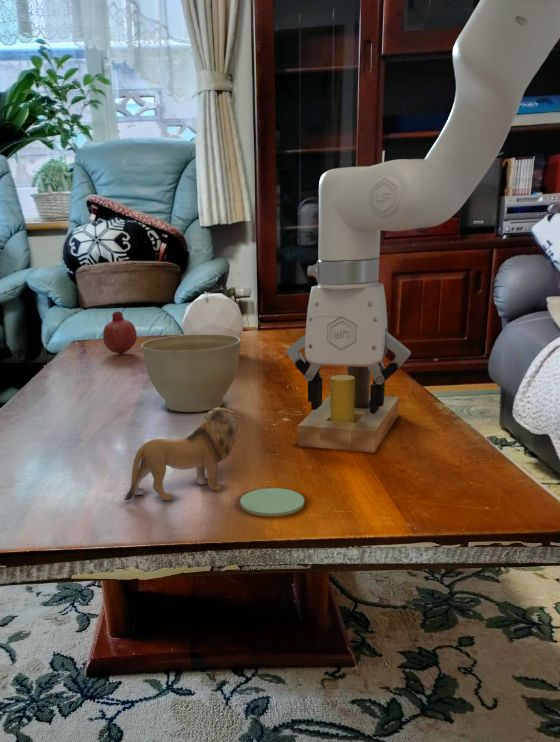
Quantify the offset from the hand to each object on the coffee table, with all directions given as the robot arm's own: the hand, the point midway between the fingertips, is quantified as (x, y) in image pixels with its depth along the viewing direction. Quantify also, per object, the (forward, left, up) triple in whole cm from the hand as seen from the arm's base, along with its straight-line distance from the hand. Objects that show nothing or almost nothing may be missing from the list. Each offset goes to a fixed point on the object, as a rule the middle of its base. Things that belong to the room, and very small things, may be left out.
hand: (345, 408), depth 93 cm
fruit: (+66, -50, -4) cm, 83 cm away
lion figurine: (+13, +23, -4) cm, 27 cm away
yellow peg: (0, 0, -4) cm, 4 cm away
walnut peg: (0, -7, -4) cm, 8 cm away
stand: (0, -4, -4) cm, 6 cm away
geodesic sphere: (+43, -53, -4) cm, 68 cm away
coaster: (+2, +24, -4) cm, 25 cm away
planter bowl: (+28, -11, -4) cm, 30 cm away
